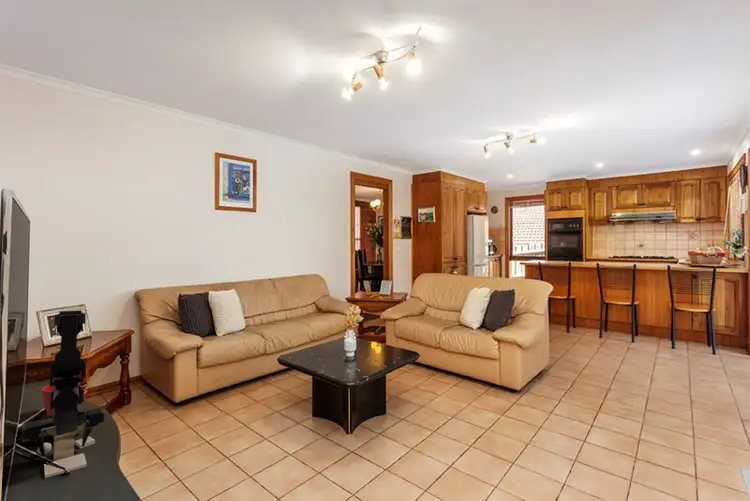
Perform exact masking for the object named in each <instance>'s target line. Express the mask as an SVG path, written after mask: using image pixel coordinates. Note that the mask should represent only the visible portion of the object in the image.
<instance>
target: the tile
mask: <svg viewBox="0 0 750 501" xmlns="http://www.w3.org/2000/svg"><path fill="white" fill-rule="evenodd" d="M94 444H96V439H94V438H93V437H91V436H90V435H89V436H88V438H87V441H86V443H85V445H84V447H82V438H79V439H77V440H74V446H76V447H78V448H79V449H83V448H85V447H89V446H91V445H94Z"/></svg>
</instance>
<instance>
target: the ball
mask: <svg viewBox="0 0 750 501" xmlns="http://www.w3.org/2000/svg"><path fill="white" fill-rule="evenodd" d="M43 443H44V451H45V454H44V455H46V454H48V453H50V451H51V450H52V444H51V443H49V442H43ZM37 453H38V454H39V455H41V456H42V454H41V452H40V450H39V447H38V446H37Z"/></svg>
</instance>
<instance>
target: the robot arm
mask: <svg viewBox="0 0 750 501" xmlns="http://www.w3.org/2000/svg"><path fill="white" fill-rule="evenodd" d="M86 314H87V313H86V312H85V313H83V312H82V310H81V309H80V310H79V309H78V310H61V311H60V310H59V313H58V314H54V316H53V317H54V318H53V319H54V321H53V327H56V332H57V334H58V335H59V336H60V348H59V349H60V350H58V352H56V353H55V354H54V360H53V361H54V362H51V363H50V375H49V385H50V387H51V386H54V391H51V409H53V416H52V421H49V422H43V423H42V419H38V420H34V421H28V422H25V423H23V425H22V433H21V434H22V435H21V436H22V440H23V441H24V440H25V441H26V440H28V441H29V442H34V443H35V444H36V445H37V448H38V447H39V450H40V452H41V454H42V455H41V454H40V455H41V457H42V456H43V457H45V455H46V454H45V451H44V443H45V442H44V438H43V437H44V435H43V431H47V430H48V429H52V428H56V434H57V435H62V434H64V433H68V432H74V431H76V430H77V427H78V426H80V425H82V424H84V429H83V430H82V432H83V433H82V438H81V439H82V447H83V448H85V447H84V445H85V443H86V441H87V438H88V436H90V434H91V432H92V430H93V429H94V428H95V427H97V426H99V424H101V423H103V422H105V413H104V410H103V409H102V408H101V407H97V408H93V409H87V410H84V411H79V410H78V409H79V407H78V406H79V405H82V403H84V402H85V400H84V398H85V390H84V389H83V387H82V386H81V383H83V382H84V379H85V378H87V376H86V375H87V362H85V360H84V359H83V358H82V352H81V351H80V349H78V348H77V347H78V346H77V345H78V344H77V343H78V342H77V341H78V335H79V334H80V333H81V331H83V325H86V316H87V315H86ZM79 375H80V376H79ZM53 378H54V379H53ZM43 457H42V458H43Z"/></svg>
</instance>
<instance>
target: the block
mask: <svg viewBox="0 0 750 501" xmlns="http://www.w3.org/2000/svg"><path fill="white" fill-rule="evenodd" d="M75 441H76V440H75V436H74V434H73V433H69V434H65V435H61V436H56V437H54V436H53V454H52V455H53V461H56V460H60V459H63V458H67V457H71V456H75V445H74V444H75Z"/></svg>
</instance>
